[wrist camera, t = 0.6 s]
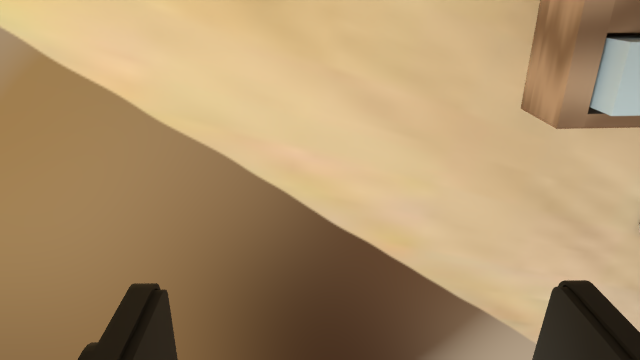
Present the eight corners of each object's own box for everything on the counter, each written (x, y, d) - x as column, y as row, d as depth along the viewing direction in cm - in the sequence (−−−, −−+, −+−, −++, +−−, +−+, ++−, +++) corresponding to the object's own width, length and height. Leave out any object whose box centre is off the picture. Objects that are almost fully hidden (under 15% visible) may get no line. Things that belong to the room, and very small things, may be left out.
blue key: (594, 35, 33) (630, 42, 29) (659, 35, 33) (704, 41, 29) (578, 102, 35) (611, 116, 31) (640, 101, 35) (680, 114, 31)
